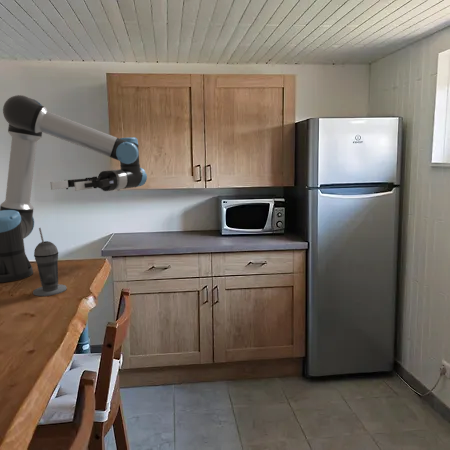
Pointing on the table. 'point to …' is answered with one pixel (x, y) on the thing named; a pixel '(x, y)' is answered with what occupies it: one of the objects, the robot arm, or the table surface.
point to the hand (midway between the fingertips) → (62, 186)
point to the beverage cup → (47, 264)
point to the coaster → (40, 291)
